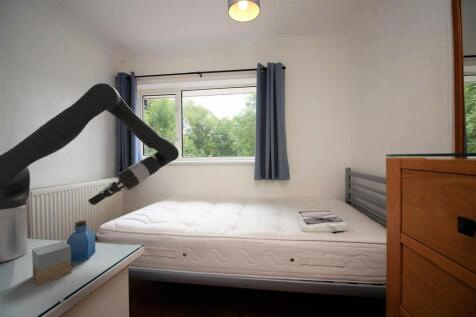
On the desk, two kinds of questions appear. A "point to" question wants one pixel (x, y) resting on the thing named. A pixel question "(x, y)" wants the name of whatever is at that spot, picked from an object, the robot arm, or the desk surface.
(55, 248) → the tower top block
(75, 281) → the desk surface
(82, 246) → the perfume bottle
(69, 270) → the tower base block
